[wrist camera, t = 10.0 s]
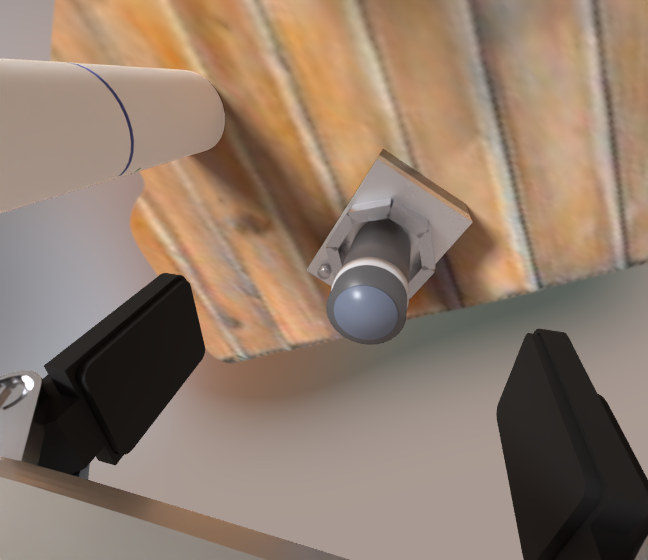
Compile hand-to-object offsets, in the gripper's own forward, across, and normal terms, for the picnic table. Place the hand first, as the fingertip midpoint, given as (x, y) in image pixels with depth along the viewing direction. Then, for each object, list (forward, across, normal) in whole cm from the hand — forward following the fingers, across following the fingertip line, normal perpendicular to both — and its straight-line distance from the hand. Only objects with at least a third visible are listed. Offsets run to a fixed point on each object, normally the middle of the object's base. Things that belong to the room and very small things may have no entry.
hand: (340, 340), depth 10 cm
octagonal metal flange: (+25, +1, +7) cm, 26 cm away
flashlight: (+20, 0, +7) cm, 21 cm away
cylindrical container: (+26, +20, -3) cm, 33 cm away
